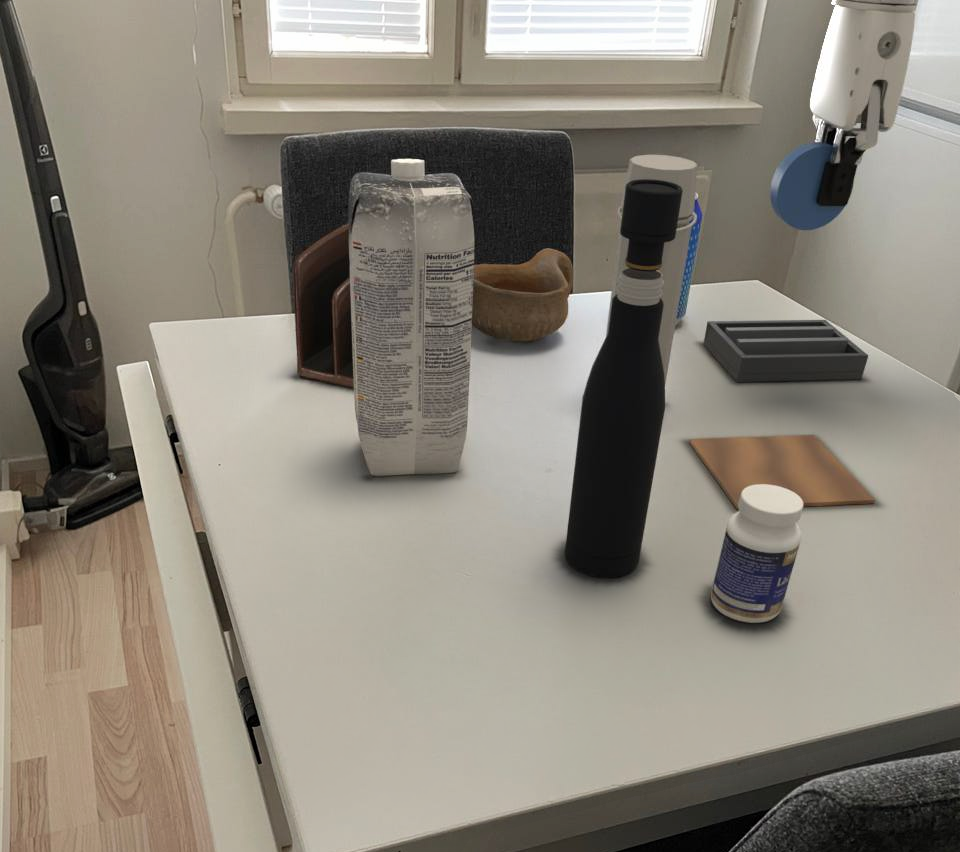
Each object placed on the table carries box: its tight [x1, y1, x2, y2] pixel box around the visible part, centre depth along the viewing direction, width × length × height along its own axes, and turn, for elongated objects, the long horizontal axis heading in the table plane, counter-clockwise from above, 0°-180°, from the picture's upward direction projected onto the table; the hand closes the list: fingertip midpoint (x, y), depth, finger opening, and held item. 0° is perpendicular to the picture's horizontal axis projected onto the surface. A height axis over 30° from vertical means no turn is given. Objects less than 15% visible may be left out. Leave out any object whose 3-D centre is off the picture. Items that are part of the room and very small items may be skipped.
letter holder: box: [292, 222, 354, 389], centre depth 114 cm, size 10×20×14 cm, turn 158°
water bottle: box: [605, 154, 698, 385], centre depth 103 cm, size 9×8×25 cm
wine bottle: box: [564, 179, 683, 579], centre depth 76 cm, size 6×6×30 cm
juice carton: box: [347, 158, 475, 477], centre depth 90 cm, size 9×10×27 cm
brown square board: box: [688, 434, 876, 510], centre depth 99 cm, size 14×14×1 cm
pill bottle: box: [710, 484, 804, 624], centre depth 78 cm, size 6×6×10 cm
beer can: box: [675, 191, 703, 327], centre depth 128 cm, size 8×8×16 cm
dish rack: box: [703, 319, 869, 383], centre depth 122 cm, size 16×12×4 cm
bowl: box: [472, 247, 574, 343], centre depth 125 cm, size 18×14×10 cm
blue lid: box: [769, 141, 855, 231], centre depth 101 cm, size 8×2×8 cm, turn 98°
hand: (825, 200), depth 102 cm, fingers closed on blue lid, 2 cm apart
